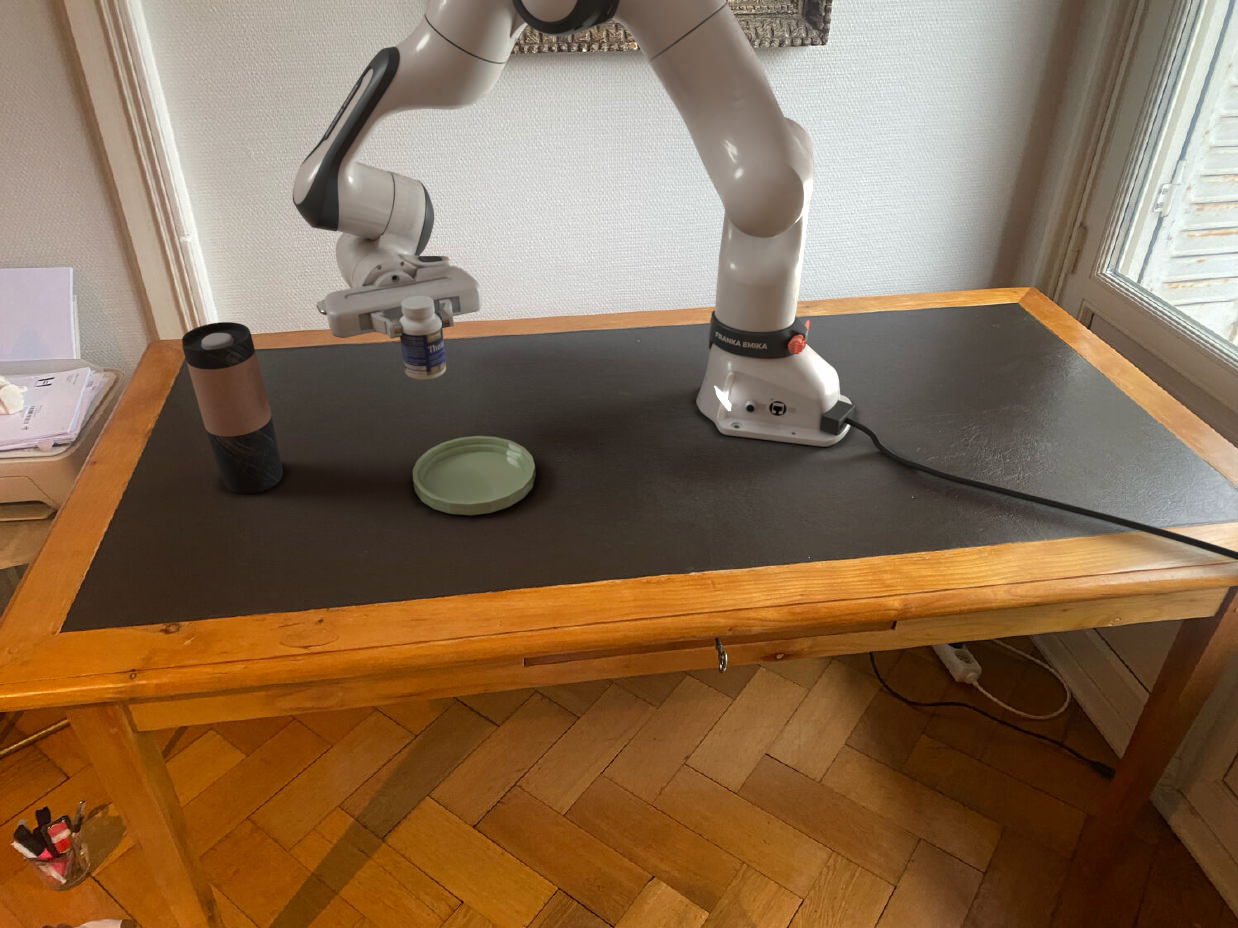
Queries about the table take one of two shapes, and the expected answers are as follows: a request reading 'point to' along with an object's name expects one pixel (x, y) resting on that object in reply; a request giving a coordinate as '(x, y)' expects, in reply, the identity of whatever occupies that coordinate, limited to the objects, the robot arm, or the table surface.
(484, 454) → the dish
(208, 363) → the travel mug
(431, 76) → the robot arm
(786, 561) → the table surface
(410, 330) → the pill bottle
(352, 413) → the table surface
